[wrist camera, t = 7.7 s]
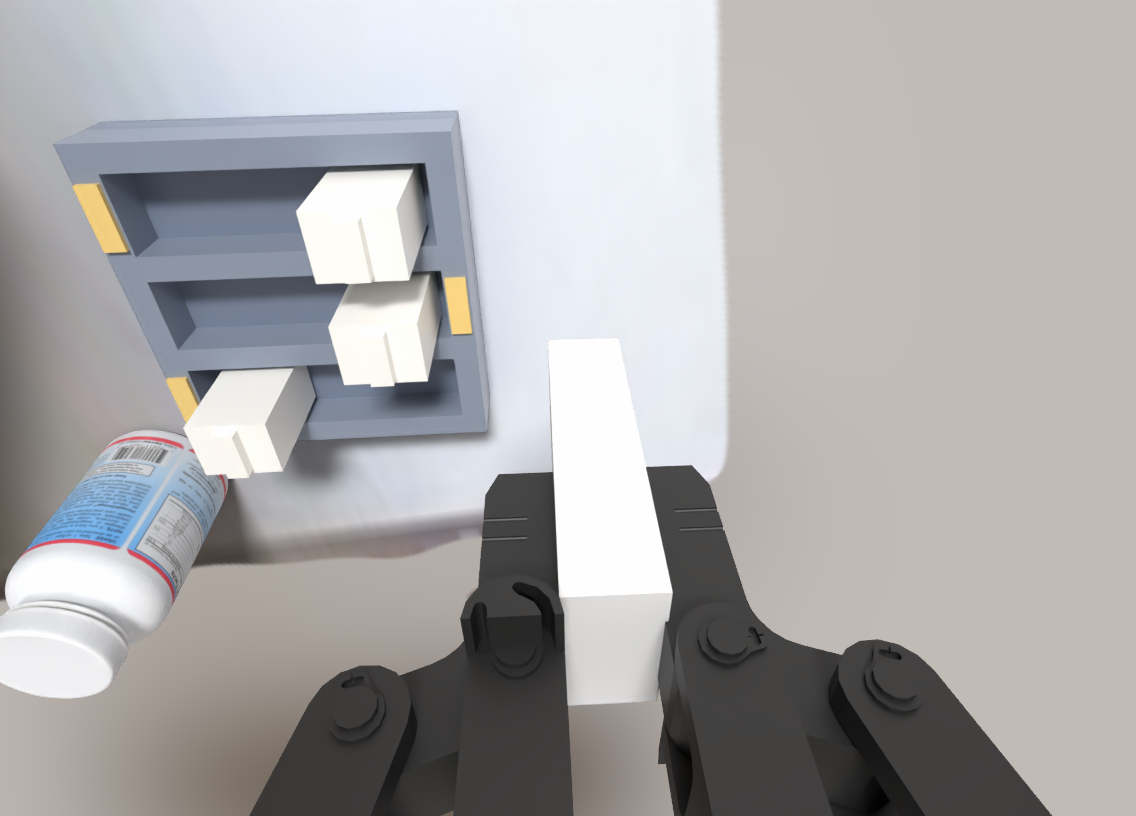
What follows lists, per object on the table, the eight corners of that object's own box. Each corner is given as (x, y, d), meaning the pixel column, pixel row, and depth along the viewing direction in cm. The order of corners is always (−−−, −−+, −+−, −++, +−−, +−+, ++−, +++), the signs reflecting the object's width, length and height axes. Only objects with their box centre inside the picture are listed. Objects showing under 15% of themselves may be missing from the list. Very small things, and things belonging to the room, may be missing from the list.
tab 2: (350, 225, 25) (312, 291, 20) (335, 161, 23) (291, 217, 19) (427, 222, 25) (407, 287, 20) (417, 158, 23) (393, 213, 19)
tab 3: (370, 316, 27) (341, 393, 23) (358, 263, 26) (324, 334, 21) (441, 313, 27) (425, 389, 23) (433, 261, 26) (415, 330, 21)
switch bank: (222, 405, 31) (196, 448, 29) (101, 121, 23) (49, 146, 21) (489, 393, 32) (486, 434, 29) (457, 110, 24) (449, 132, 21)
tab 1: (250, 399, 29) (201, 483, 25) (232, 354, 28) (177, 436, 24) (316, 396, 30) (279, 479, 25) (302, 351, 28) (260, 432, 24)
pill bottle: (92, 481, 34) (-63, 682, 25) (126, 405, 31) (-35, 601, 22) (210, 525, 36) (107, 723, 27) (251, 458, 33) (151, 654, 24)
